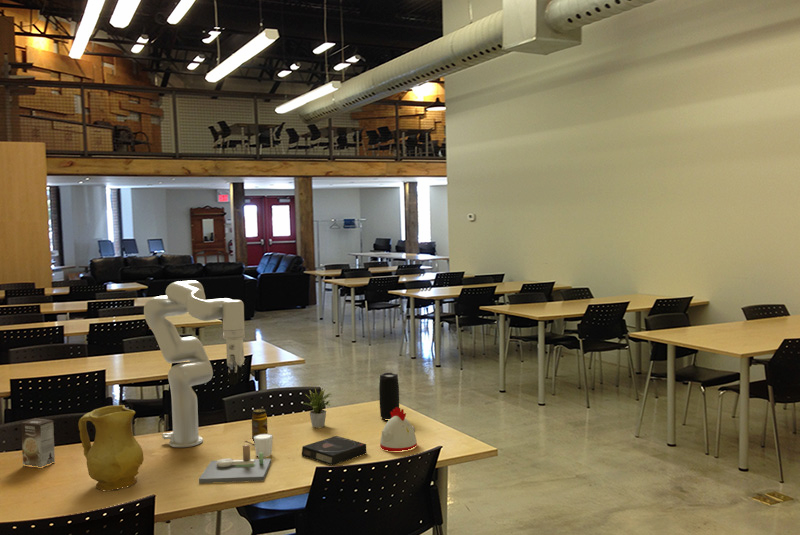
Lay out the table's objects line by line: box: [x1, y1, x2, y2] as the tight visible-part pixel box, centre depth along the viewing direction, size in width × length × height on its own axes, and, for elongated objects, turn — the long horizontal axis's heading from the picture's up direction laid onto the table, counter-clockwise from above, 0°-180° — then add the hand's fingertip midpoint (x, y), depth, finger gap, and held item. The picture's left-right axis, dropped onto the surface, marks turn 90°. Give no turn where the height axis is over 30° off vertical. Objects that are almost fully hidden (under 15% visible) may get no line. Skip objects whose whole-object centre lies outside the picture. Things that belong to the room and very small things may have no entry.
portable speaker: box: [378, 372, 400, 420], centre depth 293 cm, size 9×9×20 cm
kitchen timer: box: [379, 407, 418, 451], centre depth 255 cm, size 14×14×15 cm
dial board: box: [198, 452, 272, 484], centre depth 230 cm, size 21×18×6 cm
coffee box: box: [20, 417, 56, 467], centre depth 242 cm, size 9×6×16 cm
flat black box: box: [301, 435, 367, 466], centre depth 247 cm, size 16×17×4 cm
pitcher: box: [78, 404, 144, 491], centre depth 222 cm, size 17×19×25 cm
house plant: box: [302, 388, 336, 429], centre depth 283 cm, size 14×14×16 cm
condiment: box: [251, 408, 269, 441], centre depth 266 cm, size 7×8×12 cm
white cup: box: [254, 433, 274, 458], centre depth 248 cm, size 7×7×7 cm
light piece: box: [216, 443, 255, 467], centre depth 233 cm, size 13×6×6 cm, turn 93°
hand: (235, 380), depth 245 cm, fingers open, 9 cm apart
